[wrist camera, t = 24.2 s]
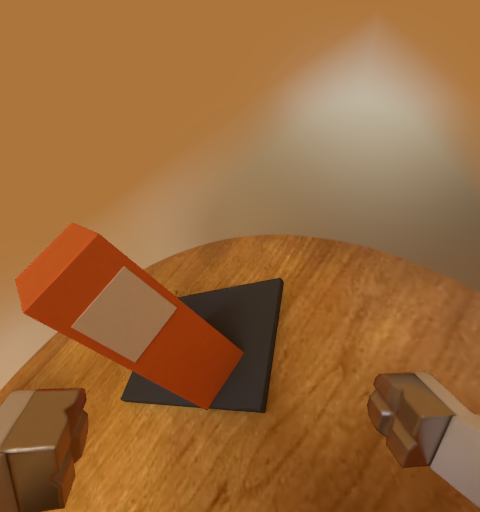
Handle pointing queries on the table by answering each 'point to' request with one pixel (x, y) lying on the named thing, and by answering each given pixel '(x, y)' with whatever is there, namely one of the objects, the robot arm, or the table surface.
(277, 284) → the felt mat
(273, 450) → the table surface
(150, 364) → the orange box
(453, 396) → the robot arm
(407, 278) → the table surface
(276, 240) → the table surface
